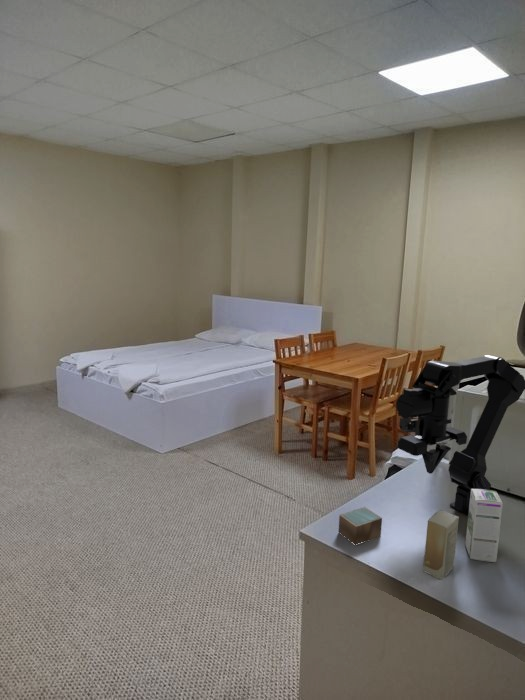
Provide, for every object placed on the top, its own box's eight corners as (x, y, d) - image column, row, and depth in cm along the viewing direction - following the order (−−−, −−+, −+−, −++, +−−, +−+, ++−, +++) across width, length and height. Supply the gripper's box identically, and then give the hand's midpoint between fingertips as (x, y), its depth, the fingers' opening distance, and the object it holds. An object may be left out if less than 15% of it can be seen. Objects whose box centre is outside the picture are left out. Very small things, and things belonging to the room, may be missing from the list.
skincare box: (434, 559, 109) (440, 508, 106) (454, 567, 106) (460, 516, 103) (421, 571, 104) (426, 519, 102) (441, 581, 101) (447, 527, 99)
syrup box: (497, 563, 108) (505, 502, 105) (468, 559, 109) (475, 499, 106) (490, 548, 113) (498, 490, 111) (463, 544, 114) (470, 487, 112)
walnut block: (364, 506, 121) (339, 514, 117) (382, 517, 116) (356, 526, 112) (363, 525, 122) (338, 533, 118) (380, 537, 117) (354, 546, 113)
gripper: (435, 399, 131) (430, 454, 134) (383, 408, 122) (379, 467, 125) (471, 411, 121) (464, 470, 124) (418, 422, 112) (412, 485, 115)
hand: (429, 472), depth 122 cm, fingers closed
